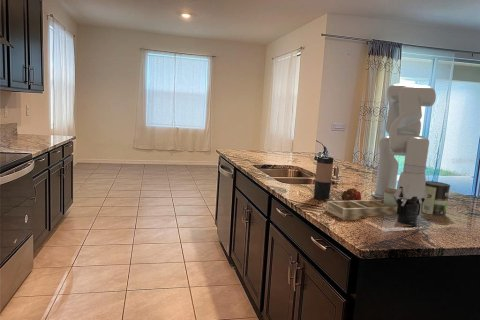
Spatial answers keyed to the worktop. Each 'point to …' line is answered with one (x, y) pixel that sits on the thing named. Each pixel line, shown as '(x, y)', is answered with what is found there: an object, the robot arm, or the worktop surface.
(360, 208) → the rack
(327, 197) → the travel mug
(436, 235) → the worktop surface
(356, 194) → the dragon fruit
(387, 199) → the canister
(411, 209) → the supplement bottle
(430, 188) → the coffee can
